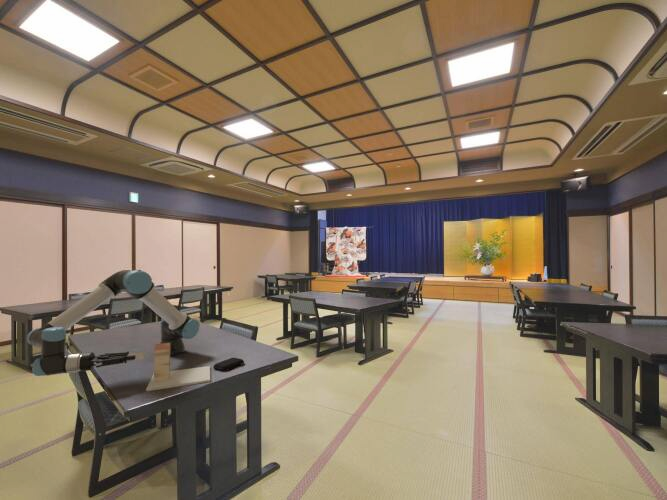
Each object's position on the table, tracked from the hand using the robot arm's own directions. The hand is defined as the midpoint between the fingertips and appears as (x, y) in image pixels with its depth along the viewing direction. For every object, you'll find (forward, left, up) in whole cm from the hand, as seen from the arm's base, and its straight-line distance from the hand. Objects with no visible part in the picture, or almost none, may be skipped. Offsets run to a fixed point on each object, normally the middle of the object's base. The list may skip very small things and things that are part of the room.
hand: (144, 355), depth 141 cm
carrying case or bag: (-25, +30, -14) cm, 41 cm away
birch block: (-3, +6, -12) cm, 14 cm away
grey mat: (-7, +14, -13) cm, 20 cm away
